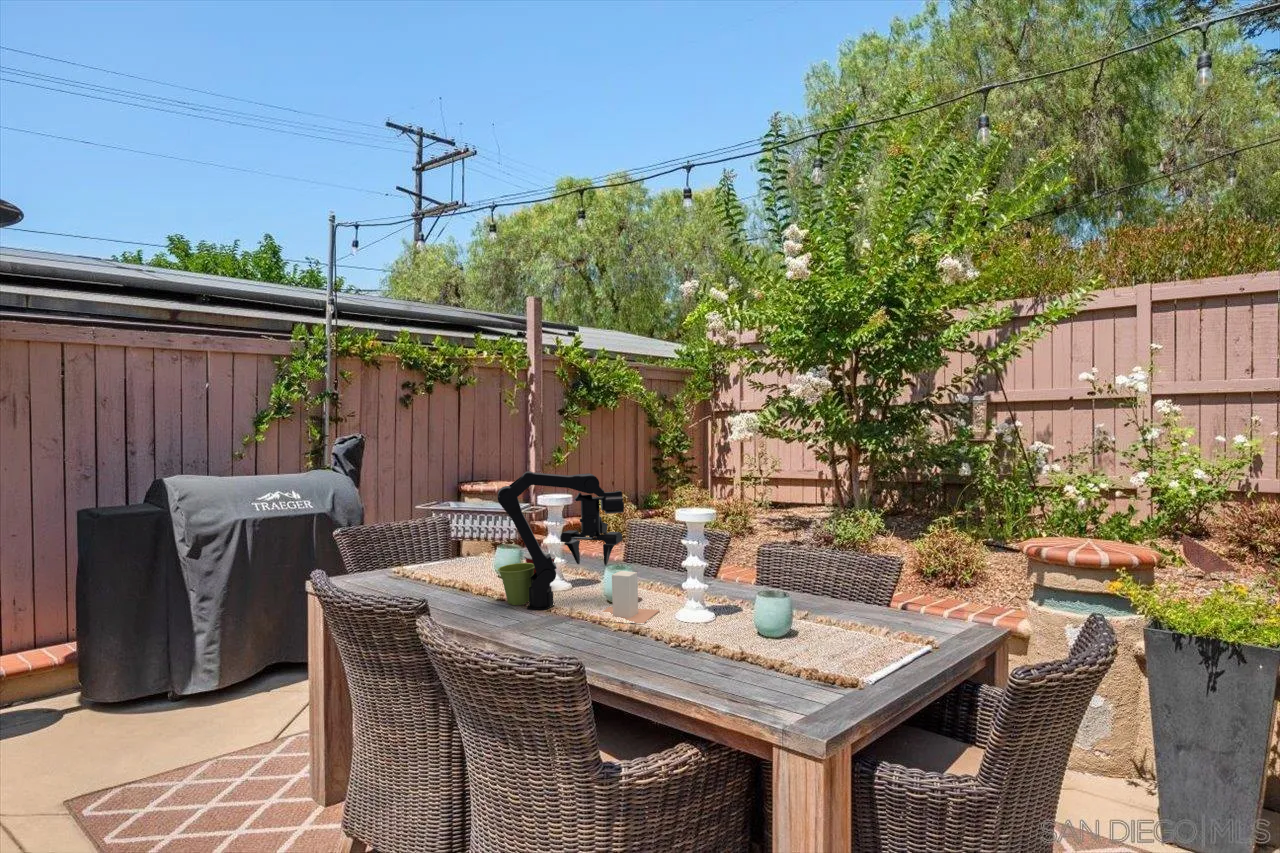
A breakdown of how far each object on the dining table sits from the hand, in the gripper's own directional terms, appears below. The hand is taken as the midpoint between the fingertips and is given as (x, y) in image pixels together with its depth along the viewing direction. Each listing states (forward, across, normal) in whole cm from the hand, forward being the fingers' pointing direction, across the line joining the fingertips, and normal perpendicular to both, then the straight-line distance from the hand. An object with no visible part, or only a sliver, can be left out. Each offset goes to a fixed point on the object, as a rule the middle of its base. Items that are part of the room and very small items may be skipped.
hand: (592, 564), depth 245 cm
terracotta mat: (+12, -15, +11) cm, 22 cm away
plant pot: (+12, +23, +5) cm, 27 cm away
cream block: (+12, -15, +11) cm, 22 cm away
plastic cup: (+12, +24, -12) cm, 30 cm away
